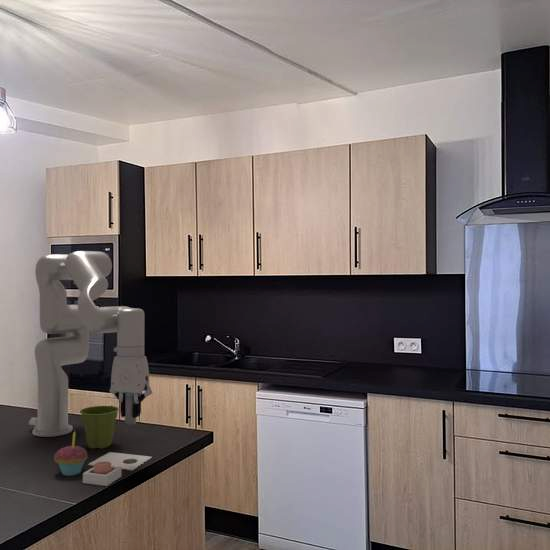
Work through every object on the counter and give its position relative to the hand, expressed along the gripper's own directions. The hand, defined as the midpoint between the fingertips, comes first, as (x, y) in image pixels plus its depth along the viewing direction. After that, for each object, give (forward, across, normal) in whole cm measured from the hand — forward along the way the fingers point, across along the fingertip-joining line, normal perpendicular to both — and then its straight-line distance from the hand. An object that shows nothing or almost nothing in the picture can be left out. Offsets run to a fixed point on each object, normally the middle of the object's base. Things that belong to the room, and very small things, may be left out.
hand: (130, 415), depth 163 cm
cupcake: (+14, -11, -12) cm, 21 cm away
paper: (+13, -3, 0) cm, 14 cm away
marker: (+2, 0, 0) cm, 2 cm away
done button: (+12, 0, -14) cm, 18 cm away
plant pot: (+13, -17, +11) cm, 25 cm away
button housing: (+13, 0, -14) cm, 19 cm away
